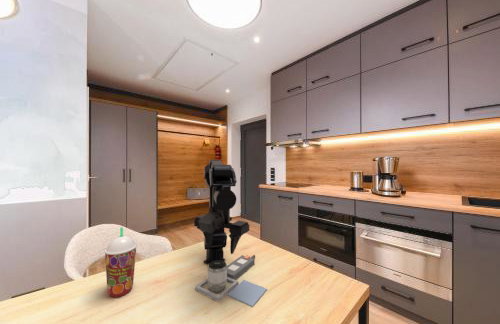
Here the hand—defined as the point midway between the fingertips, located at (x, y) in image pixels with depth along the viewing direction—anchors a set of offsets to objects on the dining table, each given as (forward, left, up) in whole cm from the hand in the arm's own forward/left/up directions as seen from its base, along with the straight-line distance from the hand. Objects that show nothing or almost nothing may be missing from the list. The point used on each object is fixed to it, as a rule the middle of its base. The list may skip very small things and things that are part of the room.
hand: (220, 250), depth 64 cm
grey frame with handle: (-1, +9, -12) cm, 15 cm away
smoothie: (-25, -19, -12) cm, 33 cm away
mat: (+9, +2, -12) cm, 15 cm away
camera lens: (-1, -1, -12) cm, 12 cm away
